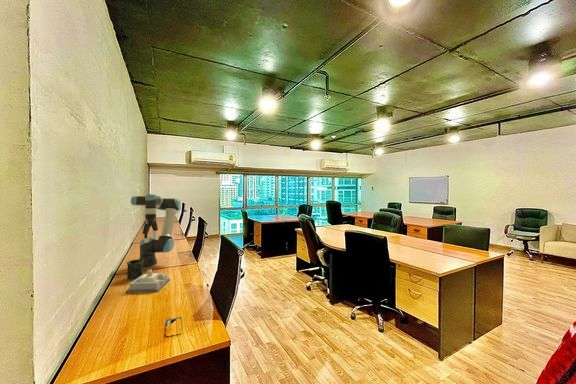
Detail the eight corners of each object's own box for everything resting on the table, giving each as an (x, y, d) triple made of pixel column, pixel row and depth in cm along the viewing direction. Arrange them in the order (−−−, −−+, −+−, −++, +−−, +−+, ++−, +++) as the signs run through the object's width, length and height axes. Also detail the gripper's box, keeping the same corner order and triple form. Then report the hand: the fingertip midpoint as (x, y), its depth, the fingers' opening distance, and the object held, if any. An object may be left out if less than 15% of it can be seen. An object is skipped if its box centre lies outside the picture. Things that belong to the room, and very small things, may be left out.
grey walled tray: (141, 281, 173) (141, 273, 173) (170, 280, 175) (170, 273, 175) (125, 292, 153) (125, 284, 153) (158, 291, 156) (158, 283, 156)
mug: (144, 273, 188) (144, 258, 188) (141, 280, 175) (141, 263, 175) (128, 275, 184) (128, 260, 184) (124, 282, 171) (124, 265, 170)
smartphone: (164, 337, 107) (165, 319, 121) (164, 339, 107) (165, 321, 121) (182, 333, 110) (181, 316, 124) (182, 335, 110) (181, 318, 124)
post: (148, 283, 166) (148, 269, 166) (152, 283, 166) (152, 269, 166) (146, 285, 163) (146, 270, 163) (150, 285, 163) (150, 270, 163)
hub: (140, 286, 160) (140, 277, 160) (146, 282, 168) (146, 273, 168) (160, 286, 161) (160, 277, 161) (165, 281, 169) (165, 273, 169)
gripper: (152, 212, 199) (152, 237, 199) (137, 215, 174) (137, 244, 174) (162, 212, 200) (162, 237, 200) (148, 215, 175) (148, 243, 175)
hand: (150, 240), depth 187 cm, fingers open, 13 cm apart
